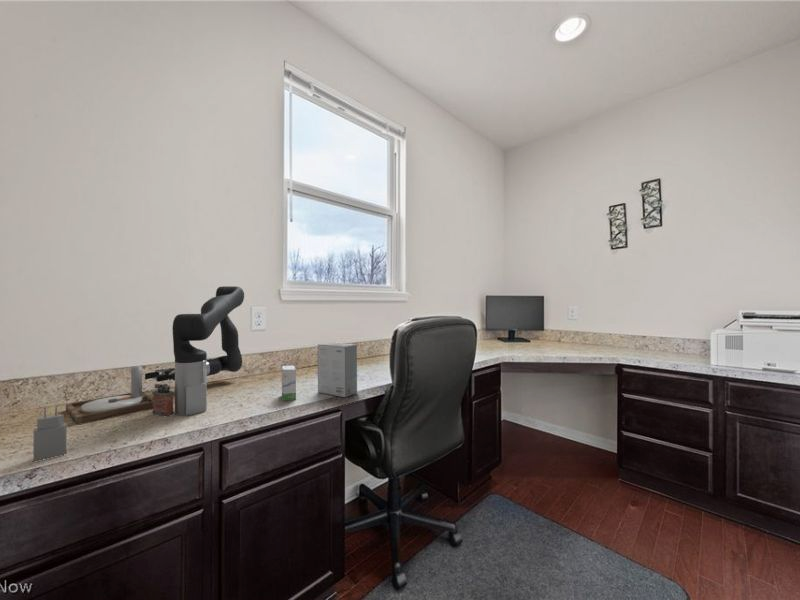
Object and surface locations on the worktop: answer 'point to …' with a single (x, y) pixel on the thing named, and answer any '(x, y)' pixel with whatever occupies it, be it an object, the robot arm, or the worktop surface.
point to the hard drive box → (337, 369)
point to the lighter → (162, 400)
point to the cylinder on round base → (118, 400)
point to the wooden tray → (81, 417)
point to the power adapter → (50, 437)
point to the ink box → (288, 383)
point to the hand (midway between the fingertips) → (150, 377)
